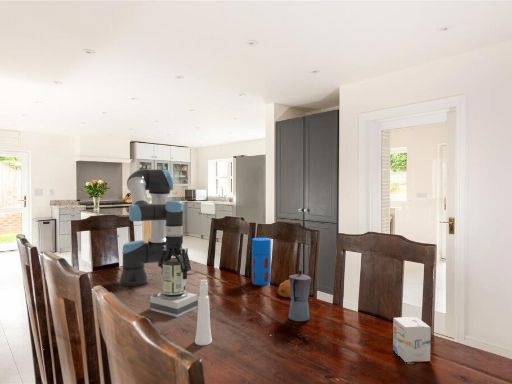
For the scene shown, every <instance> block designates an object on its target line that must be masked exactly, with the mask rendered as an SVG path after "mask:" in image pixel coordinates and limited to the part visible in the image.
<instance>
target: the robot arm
mask: <svg viewBox="0 0 512 384" xmlns="http://www.w3.org/2000/svg"><path fill="white" fill-rule="evenodd" d="M126 187H127V190H128V191H129V194H130V200H131V204H130V205H129V206H128V218H129V221H131V222H148V221H149V222H150V223H151V224H150V237H149V238H148V239H147V242H145V241H144V240H134V241H132V240H131V241H129V242H126V243H124V244H123V245H122V252H121V253H122V271H121V273H120V278H119V279H118V280H119V281H118V284H119V286H122V287H135V286H143V285H145V284H147V283H148V276H147V272H146V270H145V264H157V263H158V264H157V266H158V267H159V268H160V269H161V277H162V279H161V280H162V284H163V262H162V261H163V260H169V259H171V258H173V257H174V258H177V260H178V262H184V263H181V270H182V272H181V287H184V286H187V279H188V272H189V271H191V270H192V267H191V263H190V258H189V254H188V251H189V249H188V248H187V247H186V248H184V247H183V242H184V241H183V239H184V236H183V234H184V232H183V230H184V224H183V223H184V221H183V220H184V219H183V217H184V215H183V214H184V207H183V206H184V205H183V204H184V203H183V201H182V200H168V196H169V195H170V194H171V191H173V189H174V182H173V175H172V172H171V171H170V170H168V169H145V168H144V169H143V168H142V169H138V170H136V171H134V172H132V173H131V174H130V176H129V177H128V178H127V181H126ZM146 191H148V194H149V195H150V196H151V204H150V203H149V199H148V196H147V195H148V194H147V192H146Z"/></svg>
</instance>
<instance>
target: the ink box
mask: <svg viewBox="0 0 512 384" xmlns="http://www.w3.org/2000/svg"><path fill="white" fill-rule="evenodd" d="M392 324H393V326H392V330H393V332H392V334H393V336H392V337H393V338H392V340H393V341H392V349H393V350H394V351H395V353H396V354H397V355H398V356H400V357H401V358H402V359H403V360H404V361H405V362H412V361H430V362H431V339H432V338H431V336H432V334H431V333H432V331H431V329H432V327H431V326H429V325H428V324H427V323H426V322H424V321H423V320H421V319H420V318H418V316H413V317H412V316H405V317H404V316H402V317H401V316H400V317H393V323H392ZM393 350H392V351H393ZM395 353H394V354H395ZM396 354H395V355H396ZM397 355H396V356H397ZM398 356H397V357H398Z"/></svg>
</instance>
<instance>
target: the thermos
mask: <svg viewBox="0 0 512 384" xmlns="http://www.w3.org/2000/svg"><path fill="white" fill-rule="evenodd" d="M271 242H272V241H271V238H267V237H254V238H252V239H251V284H253V285H255V286H256V285H257V286H266V285H270V284H271V278H272V277H271V276H272V275H271V274H272V273H271V271H272V269H271V267H272V266H271V263H272V259H271V256H272V253H271V252H272V243H271Z"/></svg>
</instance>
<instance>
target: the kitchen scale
mask: <svg viewBox="0 0 512 384" xmlns="http://www.w3.org/2000/svg"><path fill="white" fill-rule="evenodd" d="M149 300H150V303H149V308H150V311H153V312H157V313H160V314H164V315H168V316H172V317H176V318H179V317H181V316H183V315H185V314H187V313H189V312H190V311H191V312H192V311H193V310H196V309H198V294H197V293H196V294H195V293H192V292H188V291H185V292H184V293H182V294H177V295H167V294H164V293H163V291H162V292H159V293H153V294H152V295H151V296H150V299H149Z"/></svg>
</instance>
